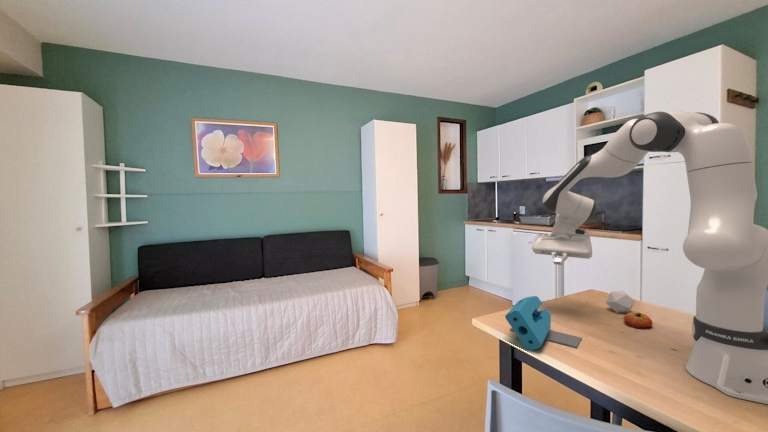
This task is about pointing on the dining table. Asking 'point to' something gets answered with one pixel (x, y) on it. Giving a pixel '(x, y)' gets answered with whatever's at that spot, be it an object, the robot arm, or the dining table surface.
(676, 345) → the dining table surface
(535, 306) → the block
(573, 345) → the mat
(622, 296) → the die
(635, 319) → the tomato
